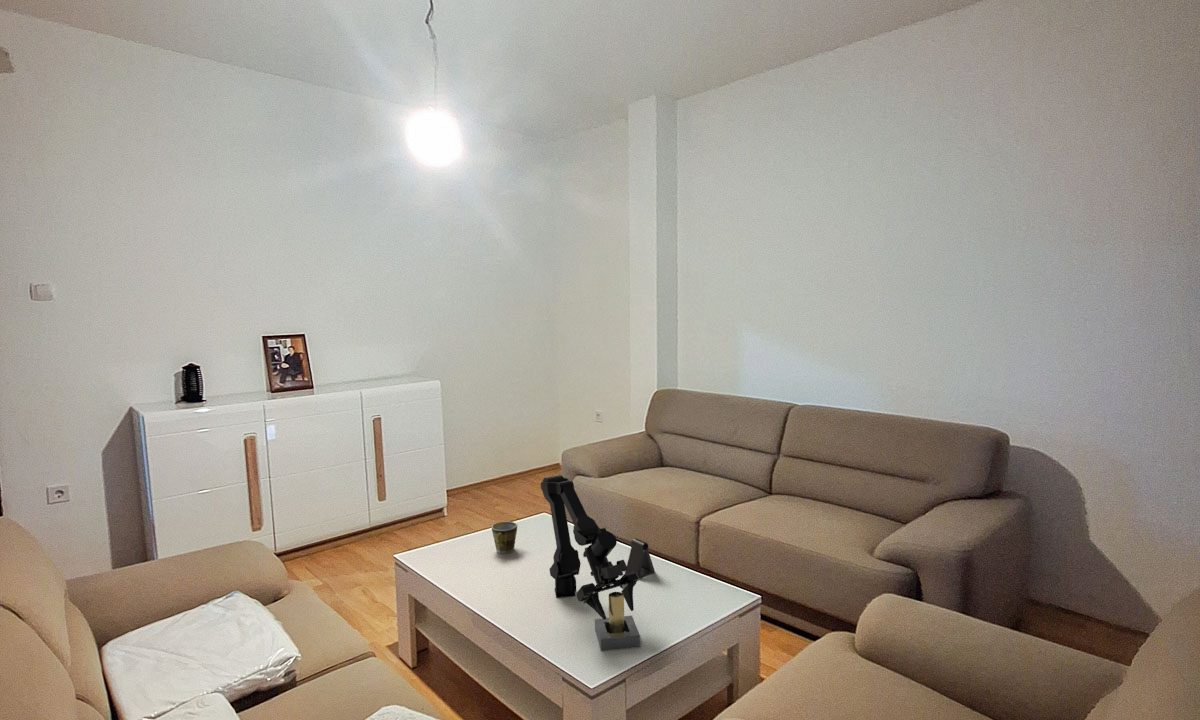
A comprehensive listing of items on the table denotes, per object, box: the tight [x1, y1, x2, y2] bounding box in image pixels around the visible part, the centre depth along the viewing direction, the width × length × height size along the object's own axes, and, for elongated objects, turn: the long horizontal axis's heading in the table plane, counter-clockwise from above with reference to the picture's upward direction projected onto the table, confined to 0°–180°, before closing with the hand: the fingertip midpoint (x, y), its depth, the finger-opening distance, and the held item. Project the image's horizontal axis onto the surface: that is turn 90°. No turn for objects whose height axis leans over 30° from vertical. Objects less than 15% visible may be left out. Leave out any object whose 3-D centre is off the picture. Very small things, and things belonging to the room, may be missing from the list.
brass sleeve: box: [608, 591, 625, 634], centre depth 179 cm, size 4×4×13 cm
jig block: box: [594, 615, 641, 652], centre depth 180 cm, size 11×11×4 cm
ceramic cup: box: [491, 520, 518, 555], centre depth 243 cm, size 13×10×10 cm
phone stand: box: [624, 537, 656, 579], centre depth 222 cm, size 9×6×12 cm, turn 127°
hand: (619, 614), depth 178 cm, fingers open, 9 cm apart
